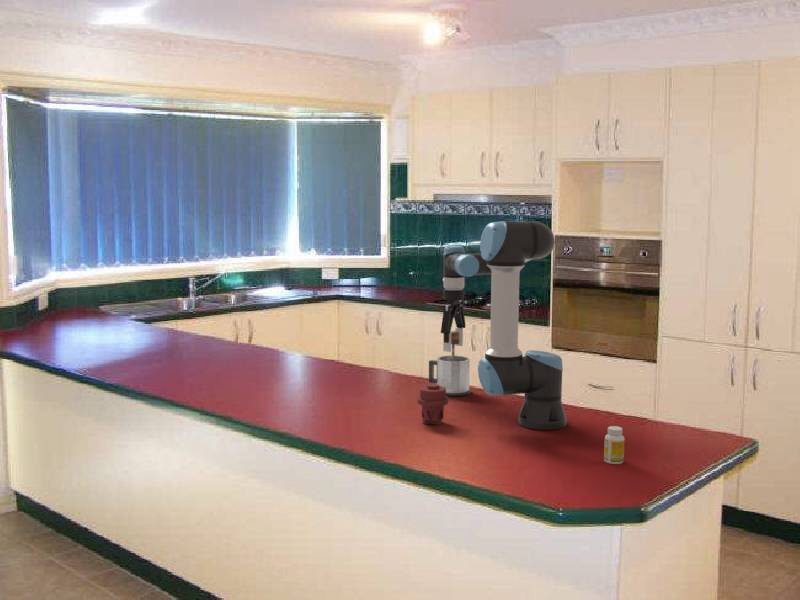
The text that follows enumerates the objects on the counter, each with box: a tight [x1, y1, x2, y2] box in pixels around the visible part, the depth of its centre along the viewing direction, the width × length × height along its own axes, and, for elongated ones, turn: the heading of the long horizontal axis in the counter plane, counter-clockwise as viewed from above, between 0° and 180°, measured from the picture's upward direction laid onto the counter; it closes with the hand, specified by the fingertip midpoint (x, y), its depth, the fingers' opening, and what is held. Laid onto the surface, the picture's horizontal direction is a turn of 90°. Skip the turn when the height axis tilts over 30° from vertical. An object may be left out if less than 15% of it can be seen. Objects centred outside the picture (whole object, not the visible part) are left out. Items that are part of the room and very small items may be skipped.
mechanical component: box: [416, 383, 450, 425], centre depth 286 cm, size 12×10×10 cm
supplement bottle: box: [603, 425, 626, 465], centre depth 248 cm, size 5×5×10 cm
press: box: [428, 355, 472, 398], centre depth 326 cm, size 16×13×12 cm
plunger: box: [450, 330, 459, 362], centre depth 325 cm, size 8×8×21 cm
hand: (453, 348), depth 324 cm, fingers open, 11 cm apart
